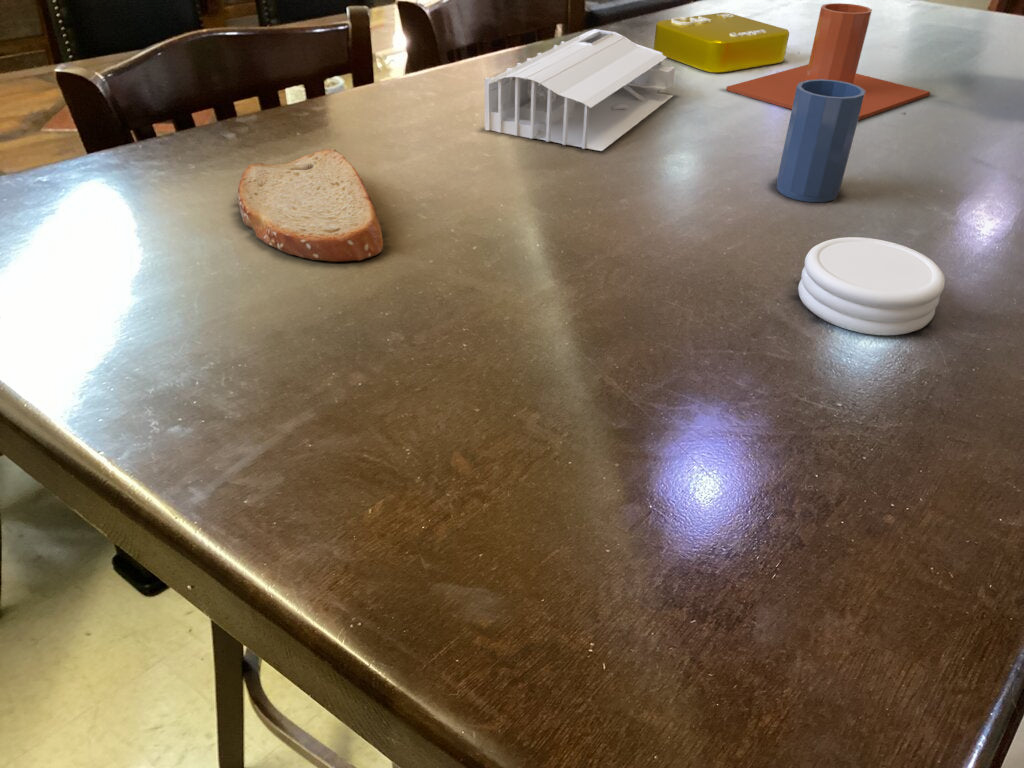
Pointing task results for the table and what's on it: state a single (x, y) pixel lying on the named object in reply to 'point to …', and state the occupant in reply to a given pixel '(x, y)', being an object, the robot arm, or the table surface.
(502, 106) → the model shed
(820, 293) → the coaster
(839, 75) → the terracotta cup
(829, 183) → the blue cup
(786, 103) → the terracotta mat
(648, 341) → the table surface
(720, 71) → the element tile
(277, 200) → the bread slice
